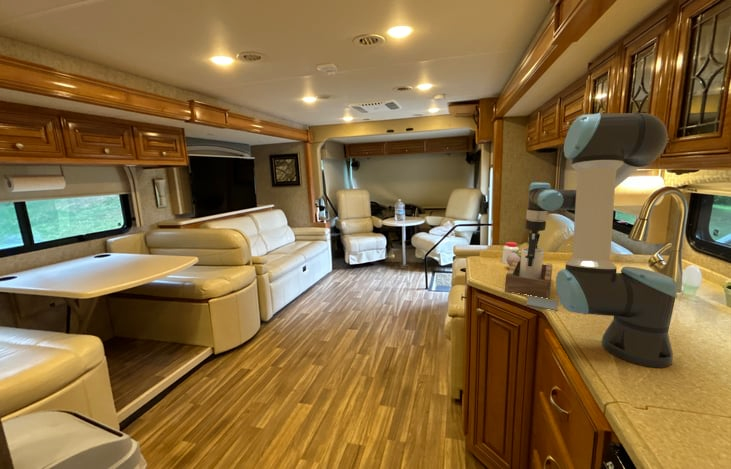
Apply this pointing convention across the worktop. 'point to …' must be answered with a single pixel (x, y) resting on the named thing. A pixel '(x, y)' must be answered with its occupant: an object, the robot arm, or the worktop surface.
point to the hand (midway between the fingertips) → (530, 268)
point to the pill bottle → (508, 250)
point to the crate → (528, 281)
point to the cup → (537, 264)
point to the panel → (542, 303)
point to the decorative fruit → (513, 257)
